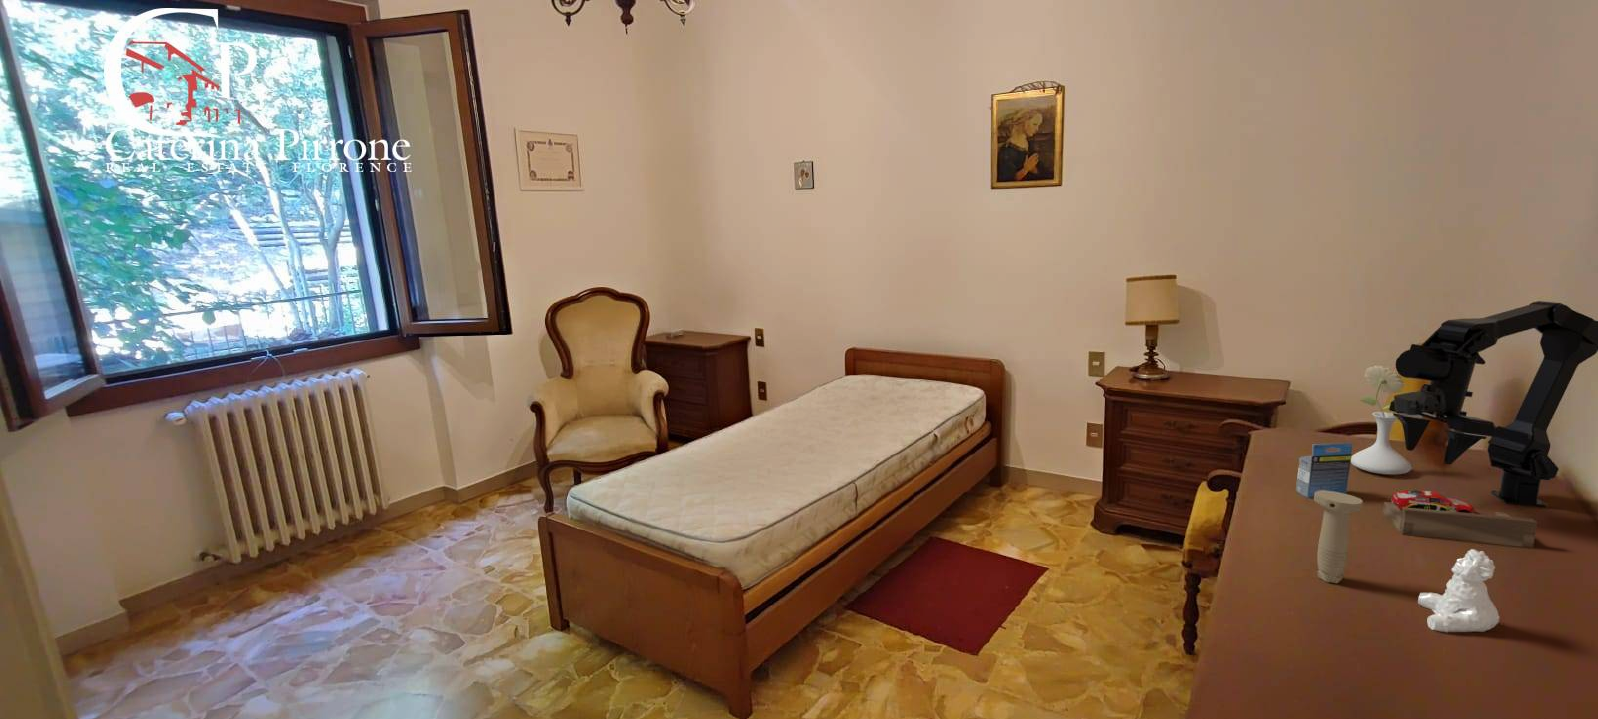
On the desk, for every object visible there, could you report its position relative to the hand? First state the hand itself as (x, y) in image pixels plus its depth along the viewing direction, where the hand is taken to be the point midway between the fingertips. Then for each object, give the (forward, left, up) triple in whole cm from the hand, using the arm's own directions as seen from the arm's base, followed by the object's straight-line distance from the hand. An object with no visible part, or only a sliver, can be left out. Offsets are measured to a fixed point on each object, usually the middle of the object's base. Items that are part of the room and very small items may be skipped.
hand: (1427, 456), depth 144 cm
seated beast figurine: (+48, -11, -12) cm, 51 cm away
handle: (+39, -25, -12) cm, 48 cm away
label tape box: (-4, -16, -12) cm, 20 cm away
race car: (0, +2, -12) cm, 12 cm away
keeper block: (+9, +2, -11) cm, 15 cm away
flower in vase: (-25, 0, -12) cm, 28 cm away
